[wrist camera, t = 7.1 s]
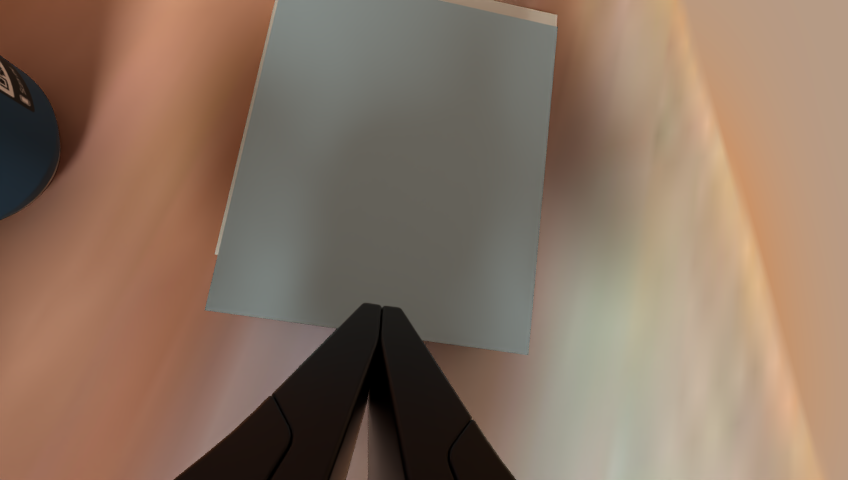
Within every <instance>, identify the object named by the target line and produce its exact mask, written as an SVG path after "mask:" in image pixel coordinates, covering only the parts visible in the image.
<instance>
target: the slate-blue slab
mask: <svg viewBox="0 0 848 480" xmlns="http://www.w3.org/2000/svg"><path fill="white" fill-rule="evenodd" d="M557 28H558V27H556V26H551V25H547V24H542V23H538V22H533V21H529V20H525V19H520V18H516V17H511V16H507V15H502V14H498V13H493V12H489V11H485V10H480V9H476V8H471V7H467V6H462V5H458V4H453V3H449V2H445V1H440V0H278V3H277V7H276V12H275V16H274V20H273V24H272V28H271V33H270V37H269V41H268V45H267V50H266V54H265V58H264V62H263V66H262V71H261V75H260V79H259V83H258V88H257V92H256V96H255V100H254V104H253V109H252V113H251V117H250V121H249V126H248V130H247V134H246V138H245V143H244V147H243V151H242V155H241V159H240V164H239V168H238V172H237V176H236V181H235V185H234V189H233V193H232V197H231V202H230V206H229V210H228V214H227V219H226V223H225V227H224V231H223V235H222V240H221V244H220V248H219V252H218V257H217V261H216V265H215V269H214V273H213V278H212V282H211V286H210V290H209V295H208V299H207V303H206V307H205V310H207V311H214V312H222V313H229V314H236V315H243V316H250V317H258V318H265V319H272V320H279V321H286V322H294V323H301V324H308V325H315V326H322V327H330V328H338V327H339V326H340V325H341V324H342V323H343V322H344V321H345V320H346V319H347V318H348V317H349V316H350V315H351V314H352V313H353V312H354V311H355V310H356V309H357V308H358V307H359V306H360V305H361V304H363V303H372V304H379V305H381V307H383V306H393V307H399V308H401V309H402V310H403V312H404V313H405V315H406V316H407V318H408V319H409V321H410V322H411V324H412V325H413V327H414V329H415V330H416V332H417V333H418V335H419V336H420V338H421V339H422V340H423V341H430V342H438V343H445V344H452V345H459V346H466V347H474V348H481V349H488V350H495V351H502V352H510V353H517V354H524V355H528V353H529V342H530V330H531V319H532V308H533V297H534V286H535V274H536V263H537V252H538V241H539V230H540V219H541V207H542V196H543V185H544V174H545V163H546V151H547V140H548V129H549V118H550V107H551V96H552V84H553V73H554V62H555V51H556V40H557Z"/></svg>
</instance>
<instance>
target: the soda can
mask: <svg viewBox="0 0 848 480" xmlns="http://www.w3.org/2000/svg"><path fill="white" fill-rule="evenodd" d="M59 159H60V138H59V130H58V125H57V121H56V117H55V114H54V111H53V109H52V106H51V104H50V102H49V100H48V99H47V97H46V95H45V94H44V92H43V91H42V90H41V88H40V87H39V86H38V85H37V84H36V83H35V82H34V81H33V80H32V79H31V78H30V77H29V76H28V75H27V74H25V73H24V72H23V71H21V70H20V69H18V68H17V67H16V66H14V65H13V64H11V63H10V62H9V61H7V60H6V59H4V58H3V57H2V56H0V220H2V219H4V218H6V217H8V216H10V215H12V214H14V213H17V212H18V211H20V210H22V209H23V208H25V207H27V206H28V205H29V204H31V203H32V202H33V201H34V200H36V199H37V198H38V197H39V196H40V195H41V194H42V193H43V191H44V190H45V189H46V188H47V186H48V185H49V183H50V182H51V180H52V178H53V177H54V175H55V172H56V170H57V167H58V163H59Z"/></svg>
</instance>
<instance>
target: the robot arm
mask: <svg viewBox="0 0 848 480" xmlns="http://www.w3.org/2000/svg"><path fill="white" fill-rule="evenodd" d="M368 394H369V397H368ZM367 399H368V480H516V479H515V477H514V476H513V475H512V474H511V472H510V471H509V470H508V468H507V467H506V466H505V464H504V463H503V462H502V461H501V459H500V458H499V456H498V455H497V453H496V452H495V450H494V449H493V448H492V446H491V445H490V443H489V442H488V440H487V439H486V437H485V436H484V434H483V433H482V431H481V430H480V428H479V427H478V425H477V424H476V422H475V421H474V420H472V417H471V415H470V414H469V412H468V411H467V409H466V408H465V406H464V405H463V403H462V401H461V400H460V398H459V397H458V395H457V394H456V392H455V391H454V389H453V387H452V386H451V384H450V383H449V381H448V380H447V378H446V377H445V375H444V374H443V372H442V370H441V369H440V367H439V366H438V364H437V363H436V361H435V360H434V358H433V356H432V355H431V353H430V352H429V350H428V349H427V347H426V346H425V344H424V343H423V341H422V339H421V338H420V336H419V335H418V333H417V332H416V330H415V329H414V327H413V325H412V324H411V322H410V321H409V319H408V318H407V316H406V315H405V313H404V312H403V310H402V309H401V308H399V307H393V306H383V307H381V305H379V304H372V303H363V304H361V305H360V306H359V307H358V308H357V309H356V310H355V311H354V312H353V313H352V314H351V315H350V316H349V317H348V318H347V319H346V320H345V321H344V322H343V323H342V324H341V325H340V326H339V327H338V328H337V329H336V330H335V331H334V332H333V333H332V334H331V335H330V336H329V337H328V338H327V339H326V340H325V341H324V342H323V343H322V344H321V345H320V346H319V347H318V348H317V349H316V350H315V351H314V352H313V353H312V354H311V355H310V356H309V357H308V358H307V359H306V360H305V361H304V362H303V363H302V364H301V365H300V366H299V368H298V369H297V370H296V371H295V372H294V373H293V374H292V375H291V376H290V377H289V378H288V379H287V380H286V381H285V382H284V383H283V384H282V385H281V386H280V387H279V388H278V389H277V390H276V391H275V392H274V393H273V394H272V396H269V397H268V398H267V399H266V400H265V401H264V402H263V403H262V404H261V405H260V406H259V407H258V408H257V409H256V410H255V411H254V412H253V413H252V414H251V415H250V416H248V417H247V418H246V419H245V420H244V421H243V422H242V423H241V424H240V425H239V426H238V427H237V428H236V429H235V430H234V431H232V432H231V433H230V434H229V435H228V436H226V437H225V438H224V439H223V440H222V441H221V442H219V443H218V444H217V445H216V446H215V447H213V448H212V449H211V450H210V451H209V452H207V453H206V454H205V455H204V456H202V457H201V458H200V459H199V460H197V461H196V462H195V463H194V464H192V465H191V466H190V467H189V468H187V469H186V470H185V471H184V472H182V473H181V474H180V475H179V476H177V477H176V478H175V479H174V480H346V476H347V473H348V469H349V466H350V462H351V458H352V455H353V451H354V448H355V444H356V440H357V437H358V433H359V430H360V426H361V423H362V419H363V415H364V412H365V408H366V404H367Z"/></svg>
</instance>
